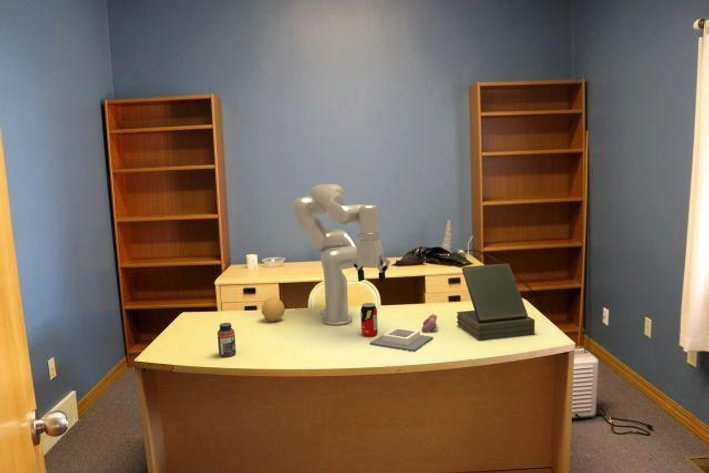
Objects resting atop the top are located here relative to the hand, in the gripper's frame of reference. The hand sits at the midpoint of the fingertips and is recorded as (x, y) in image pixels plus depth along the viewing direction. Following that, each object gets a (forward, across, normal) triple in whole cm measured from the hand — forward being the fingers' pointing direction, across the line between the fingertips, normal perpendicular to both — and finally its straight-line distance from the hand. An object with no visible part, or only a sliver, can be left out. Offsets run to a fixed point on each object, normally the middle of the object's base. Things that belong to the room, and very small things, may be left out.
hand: (371, 281), depth 201 cm
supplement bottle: (+21, -32, -45) cm, 59 cm away
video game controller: (+22, +15, +17) cm, 31 cm away
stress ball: (+20, -49, -5) cm, 53 cm away
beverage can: (+21, -1, -1) cm, 21 cm away
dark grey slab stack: (+22, +38, +28) cm, 52 cm away
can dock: (+21, +14, -2) cm, 25 cm away
